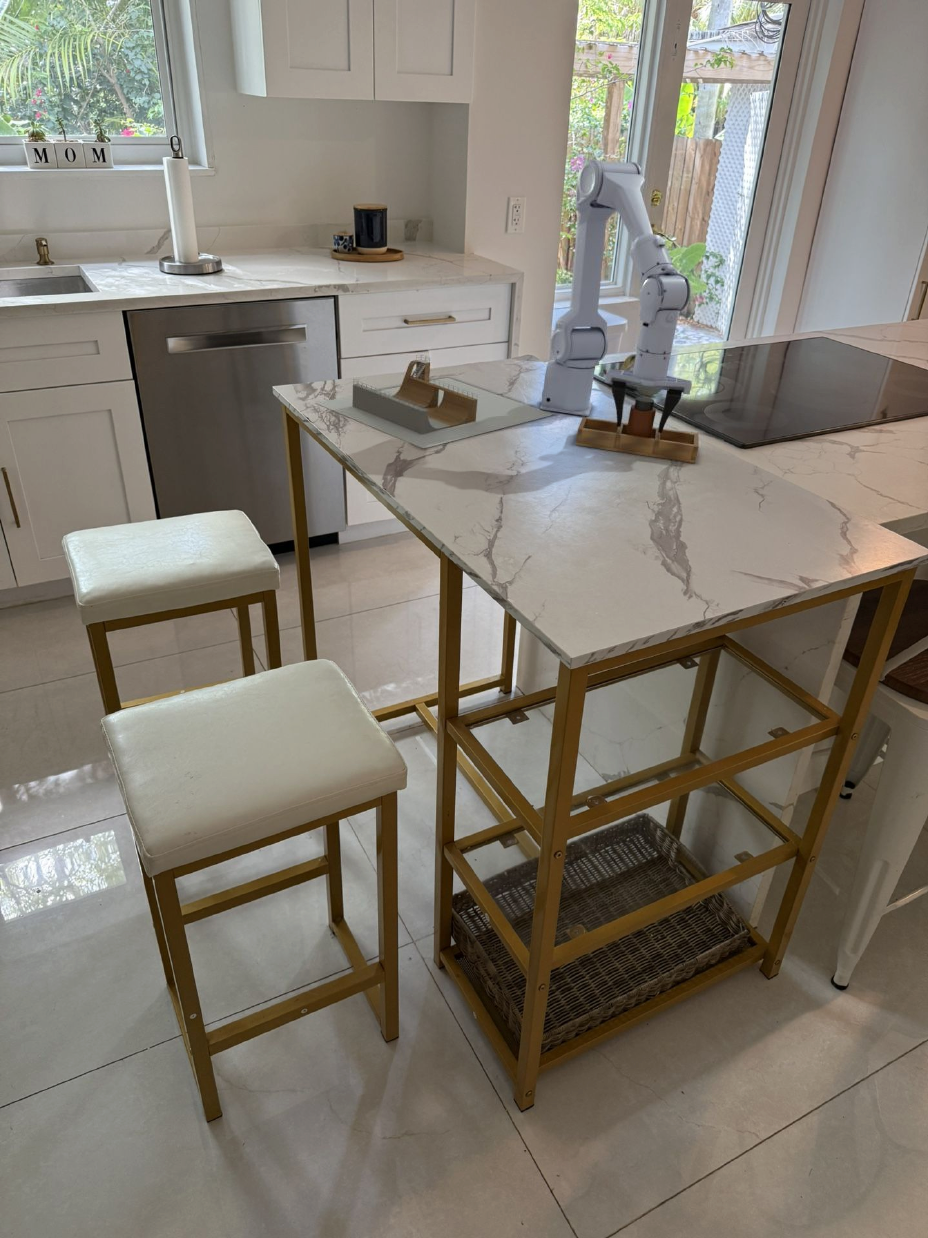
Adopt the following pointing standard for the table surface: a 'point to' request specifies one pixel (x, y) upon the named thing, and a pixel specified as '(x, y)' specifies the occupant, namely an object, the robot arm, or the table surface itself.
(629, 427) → the spice bottle
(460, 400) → the skate ramp
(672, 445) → the spice tray
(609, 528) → the table surface
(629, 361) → the ceramic sculpture
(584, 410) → the robot arm
